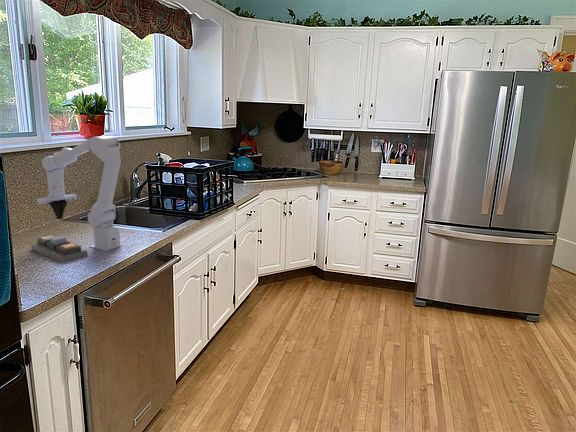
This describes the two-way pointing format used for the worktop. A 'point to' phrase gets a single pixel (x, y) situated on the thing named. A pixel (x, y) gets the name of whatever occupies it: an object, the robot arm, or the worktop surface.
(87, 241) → the worktop surface
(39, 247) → the key panel
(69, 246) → the terracotta key
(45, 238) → the off-white key
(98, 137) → the robot arm
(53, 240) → the slate blue key
